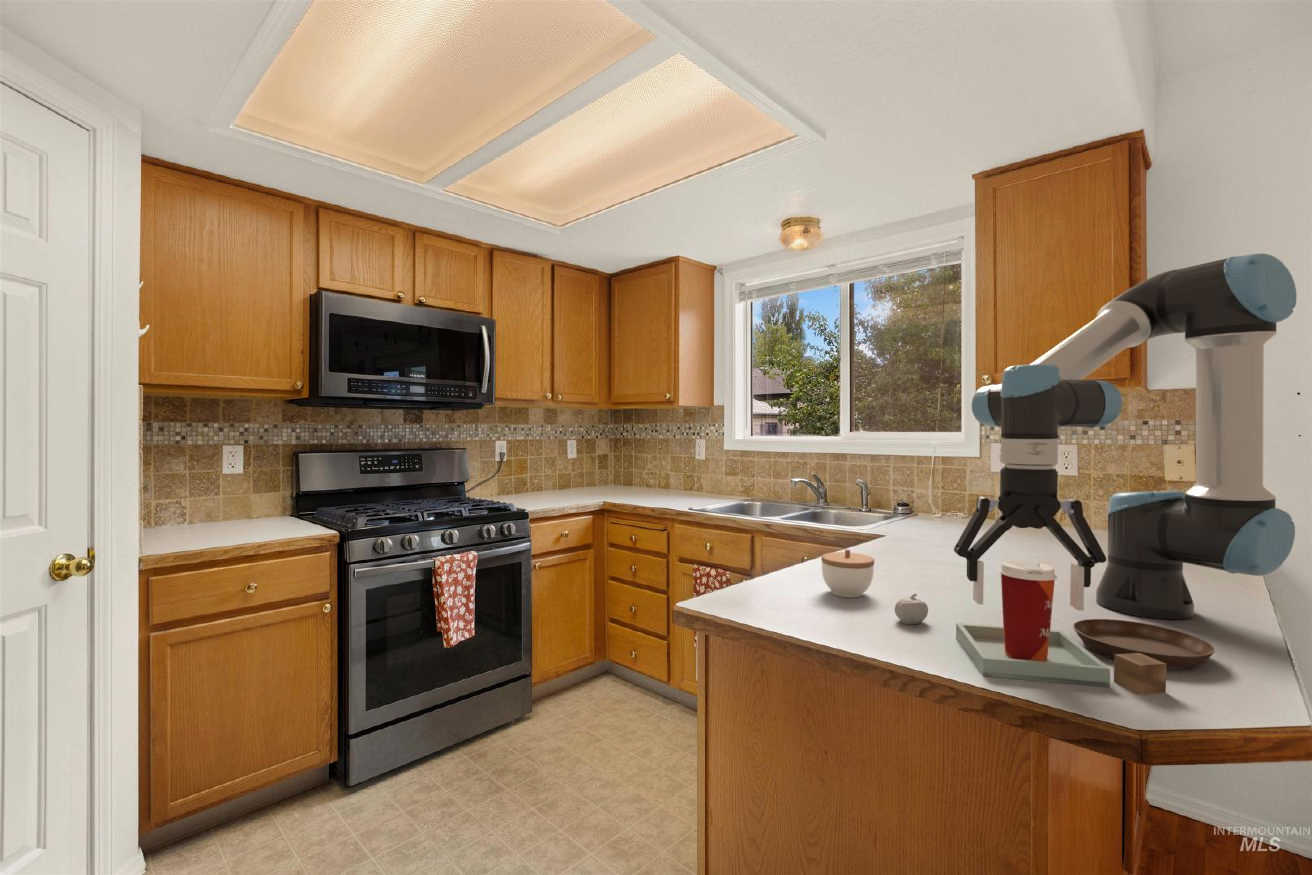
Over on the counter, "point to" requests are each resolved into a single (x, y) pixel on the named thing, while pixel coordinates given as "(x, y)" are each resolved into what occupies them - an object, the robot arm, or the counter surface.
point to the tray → (1061, 665)
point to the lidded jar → (847, 573)
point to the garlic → (911, 610)
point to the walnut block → (1140, 673)
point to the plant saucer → (1144, 642)
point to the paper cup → (1027, 608)
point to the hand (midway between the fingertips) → (1026, 605)
